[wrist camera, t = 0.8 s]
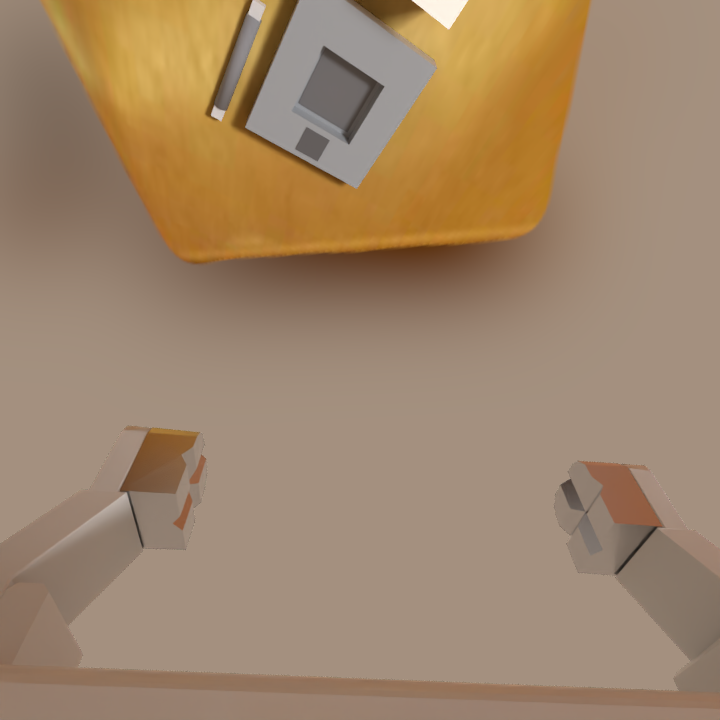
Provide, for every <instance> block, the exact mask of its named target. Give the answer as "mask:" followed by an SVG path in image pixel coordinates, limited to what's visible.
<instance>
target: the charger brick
mask: <svg viewBox="0 0 720 720" xmlns="http://www.w3.org/2000/svg"><path fill="white" fill-rule="evenodd" d="M412 1H413V2H415V3H416V4H417V5H418V6H420V7H421V8H422V9H423V10H425V11H426V12H427V13H428V14H430V15H431V16H432V17H434V18H435V19H436V20H437V21H439V22H440V23H441V24H442V25H444V26H445V27H446V28H447V29H450V27H451V26H452V24H453V23H454V21H455V20H456V18H457V17H458V15H459V13H460V12H461V10H462V9H463V7H464V6H465V4H466V3H467V1H468V0H412Z"/></svg>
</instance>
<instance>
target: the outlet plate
mask: <svg viewBox="0 0 720 720" xmlns="http://www.w3.org/2000/svg"><path fill="white" fill-rule="evenodd" d="M436 69H437V66H436V64H435V61H434V60H433V59H432V58H431V57H429V56H428V55H427V54H425V53H424V52H423V51H421V50H420V49H419V48H417V47H416V46H415V45H413V44H412V43H410V42H409V41H408V40H406V39H405V38H404V37H402V36H401V35H400V34H398V33H397V32H396V31H394V30H393V29H392V28H390V27H389V26H388V25H386V24H385V23H384V22H382V21H381V20H380V19H378V18H377V17H376V16H374V15H373V14H371V13H370V12H369V11H367V10H366V9H365V8H363V7H362V6H361V5H359V4H358V3H357V2H355V1H354V0H298V1H297V3H296V5H295V8H294V10H293V13H292V15H291V17H290V20H289V22H288V24H287V27H286V29H285V31H284V34H283V36H282V38H281V41H280V43H279V45H278V48H277V50H276V53H275V55H274V57H273V60H272V62H271V64H270V67H269V69H268V71H267V74H266V76H265V78H264V81H263V83H262V85H261V88H260V90H259V93H258V95H257V97H256V100H255V102H254V104H253V107H252V109H251V111H250V114H249V116H248V118H247V122H246V126H245V128H247V129H248V130H250V131H252V132H254V133H256V134H258V135H259V136H261V137H263V138H265V139H267V140H269V141H270V142H272V143H274V144H276V145H278V146H280V147H281V148H283V149H285V150H287V151H289V152H290V153H292V154H294V155H296V156H298V157H300V158H301V159H303V160H305V161H307V162H309V163H311V164H312V165H314V166H316V167H318V168H320V169H322V170H323V171H325V172H327V173H329V174H331V175H333V176H334V177H336V178H338V179H340V180H342V181H344V182H345V183H347V184H349V185H351V186H353V187H354V188H356V189H357V188H358V186H359V185H360V183H361V182H362V180H363V179H364V177H365V176H366V174H367V173H368V171H369V170H370V168H371V167H372V165H373V164H374V162H375V161H376V159H377V158H378V156H379V155H380V153H381V152H382V150H383V149H384V147H385V146H386V144H387V143H388V141H389V140H390V138H391V137H392V135H393V134H394V132H395V131H396V129H397V128H398V126H399V125H400V123H401V122H402V120H403V119H404V117H405V116H406V114H407V113H408V111H409V110H410V108H411V107H412V105H413V104H414V102H415V101H416V99H417V98H418V96H419V95H420V93H421V92H422V90H423V89H424V87H425V85H426V84H427V82H428V81H429V79H430V78H431V76H432V75H433V73H434V72H435V70H436Z"/></svg>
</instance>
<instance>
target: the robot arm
mask: <svg viewBox="0 0 720 720" xmlns="http://www.w3.org/2000/svg"><path fill="white" fill-rule="evenodd" d="M204 445H205V444H204V438H203V434H202V433H200V432H190V431H181V430H171V429H160V428H147V427H137V426H127V427H126V428H124V429H123V430H122V431H121V433H120V435H119V436H118V438H117V440H116V442H115V444H114V445H113V447H112V449H111V451H110V453H109V454H108V456H107V458H106V460H105V462H104V464H103V465H102V467H101V469H100V471H99V473H98V474H97V476H96V478H95V480H94V482H93V484H92V485H91V487H90V489H89V490H88V489H81V490H79V491H78V492H77V493H75V494H73V495H72V496H71V497H69V498H68V499H66V500H65V501H63V502H62V503H60V504H59V505H57V506H56V507H54V508H53V509H51V510H50V511H48V512H47V513H45V514H44V515H42V516H41V517H39V518H38V519H36V520H35V521H33V522H32V523H30V524H29V525H27V526H26V527H24V528H23V529H21V530H20V531H18V532H17V533H15V534H14V535H12V536H11V537H9V538H8V539H6V540H5V541H3V542H2V543H0V720H720V549H719V548H718V547H717V546H715V545H714V544H713V543H711V542H710V541H709V540H707V539H706V538H705V537H703V536H702V535H701V534H699V533H698V532H697V531H695V530H689V529H687V527H686V525H685V524H684V522H683V521H682V519H681V518H680V516H679V514H678V513H677V511H676V510H675V508H674V506H673V505H672V503H671V502H670V501H669V499H668V497H667V495H666V494H665V492H664V491H663V489H662V488H661V486H660V485H659V483H658V481H657V480H656V478H655V477H654V475H653V473H652V472H651V471H650V469H648V468H647V467H646V466H644V465H630V464H618V463H604V462H588V461H577V462H575V463H574V464H572V466H571V468H570V469H569V471H568V473H569V476H570V478H571V479H569V480H567V481H566V482H564V483H562V484H561V485H560V486H559V488H558V490H557V492H556V494H555V503H554V508H555V513H556V517H557V520H558V523H559V525H560V527H561V528H562V529H563V530H564V531H566V532H567V533H568V534H569V535H570V536H569V539H568V542H567V546H568V549H569V551H570V554H571V557H572V559H573V561H574V564H575V567H576V569H577V572H578V573H589V574H601V575H612V576H616V577H615V578H616V579H617V580H618V581H619V583H620V584H621V585H622V586H623V587H624V588H625V589H626V590H627V591H628V592H629V594H630V595H631V596H632V597H633V598H634V599H635V600H636V601H637V602H638V604H639V605H640V606H641V607H642V608H643V609H644V610H645V611H646V612H647V613H648V614H649V615H650V617H651V618H652V619H653V620H654V621H655V622H656V623H657V624H658V625H659V626H660V628H661V629H662V630H663V631H664V632H665V633H666V634H667V635H668V636H669V638H670V639H671V640H672V641H673V642H674V643H675V644H676V645H677V646H678V647H679V649H680V650H681V651H682V652H683V653H684V654H685V655H686V656H687V657H688V658H689V660H690V662H689V663H688V664H687V665H685V666H684V667H683V668H681V669H680V670H679V671H677V672H676V674H675V676H674V681H675V683H676V686H677V687H678V690H679V691H672V690H646V689H621V688H596V687H570V686H543V685H519V684H493V683H467V682H444V681H417V680H393V679H392V680H391V679H367V678H341V677H316V676H290V675H264V674H238V673H237V674H236V673H213V672H188V671H185V672H184V671H162V670H136V669H109V668H85V667H84V668H83V667H78V666H79V664H80V661H81V659H82V656H83V654H82V651H81V649H80V647H79V645H78V643H77V642H76V640H75V638H74V636H73V635H72V633H71V631H70V629H69V627H68V625H69V624H70V623H71V622H72V621H73V620H74V619H75V618H76V617H77V616H78V615H79V614H80V613H81V612H82V611H83V610H84V609H85V608H86V607H87V606H88V605H89V604H90V603H91V602H92V601H93V600H94V599H95V598H96V597H97V596H98V595H99V594H100V593H101V592H102V591H103V590H104V589H105V588H106V587H107V586H108V585H109V584H110V583H111V582H112V581H113V580H114V579H115V578H116V577H117V576H118V575H119V574H120V573H121V572H122V571H124V570H125V569H126V567H127V566H129V564H130V563H132V562H133V560H135V559H136V557H138V556H139V555H140V553H142V552H143V549H142V548H145V549H177V550H186V548H187V545H188V542H189V539H190V535H191V533H192V529H193V526H194V523H195V516H194V508H195V507H196V506H197V505H198V504H200V503H201V500H202V497H203V494H204V490H205V484H206V478H207V462H206V458H205V457H204V456H202V451H203V448H204Z"/></svg>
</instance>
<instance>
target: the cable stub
mask: <svg viewBox="0 0 720 720" xmlns="http://www.w3.org/2000/svg"><path fill="white" fill-rule="evenodd" d="M265 7H266V5H265V4H264V3H262V2H261V1H259V0H253V1H252V4H251V7H250V9H249V11H248V12H247V14H246V17H245V19H244V22H243V25H242V28H241V30H240V33H239V36H238V39H237V41H236V44H235V47H234V50H233V52H232V55H231V58H230V61H229V63H228V66H227V69H226V72H225V74H224V77H223V80H222V83H221V85H220V88H219V91H218V94H217V96H216V99H215V102H214V104H215V105H214V108H213V110H212V113H211V116H212V117H214V118H216V119H218V120H220V121H222V118H223V116H224V113H225V111H226V110H227V108H228V106H229V103H230V101H231V98H232V96H233V93H234V90H235V88H236V85H237V83H238V80H239V78H240V75H241V72H242V70H243V67H244V65H245V62H246V59H247V57H248V54H249V52H250V49H251V47H252V44H253V41H254V39H255V36H256V34H257V31H258V29H259V26H260V23H261V17H262V15H263V12H264V9H265Z"/></svg>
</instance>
